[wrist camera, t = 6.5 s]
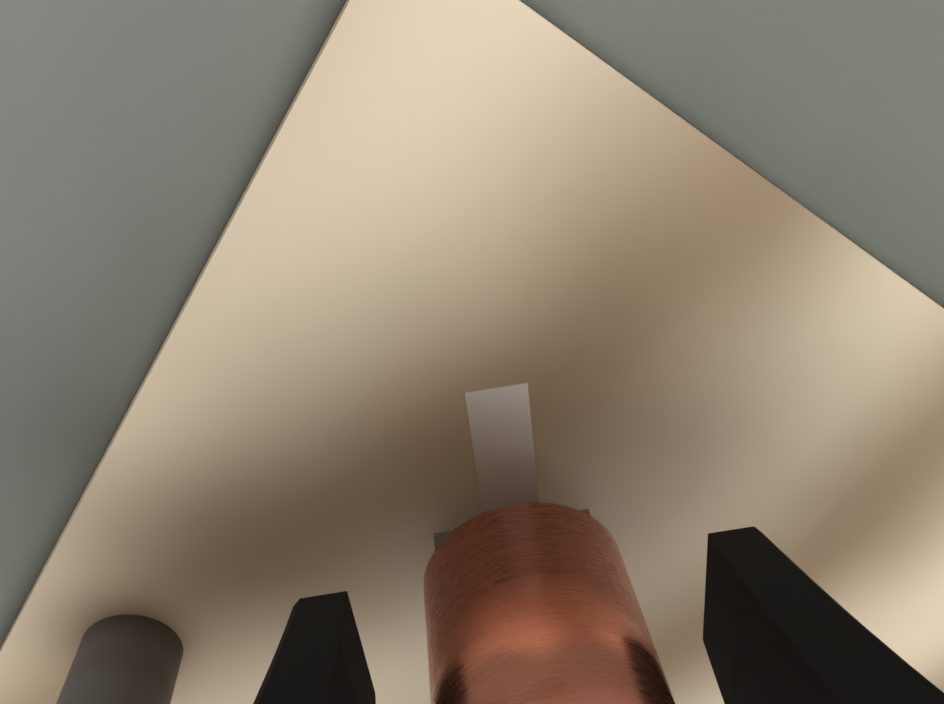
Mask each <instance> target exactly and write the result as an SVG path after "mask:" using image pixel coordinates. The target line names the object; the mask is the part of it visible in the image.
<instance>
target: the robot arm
mask: <svg viewBox="0 0 944 704" xmlns="http://www.w3.org/2000/svg"><path fill="white" fill-rule="evenodd" d="M703 642H704V645H705V648H706V651H707V654H708V657H709V660H710V663H711V666H712V669H713V672H714V675H715V678H716V681H717V684H718V687H719V689H720V692H721V695H722V698H723V701H724V704H944V692H943V691H941V690H940V689H939V688H937V687H936V686H935V685H934V684H933V683H931V682H930V681H929V680H928V679H926V678H925V677H924V676H923V675H921V674H920V673H919V672H918V671H917V670H915V669H914V668H913V667H912V666H910V665H909V664H908V663H907V662H906V661H905V660H903V659H902V658H901V657H900V656H899V655H897V654H896V653H895V652H894V651H893V650H892V649H890V648H889V647H888V646H887V645H886V644H885V643H883V642H882V641H881V640H880V639H879V638H878V637H876V636H875V635H874V634H873V633H872V632H870V631H869V630H868V629H867V628H866V627H865V626H863V625H862V624H861V623H860V622H859V621H858V620H857V619H855V618H854V617H853V616H852V615H851V614H850V613H849V612H848V611H846V610H845V609H844V608H843V607H842V606H841V605H840V604H839V603H837V602H836V601H835V600H834V599H833V598H832V597H831V596H830V595H829V594H828V593H826V592H825V591H824V590H823V589H822V588H821V587H820V586H819V585H818V584H817V583H815V582H814V581H813V580H812V579H811V578H810V577H809V576H808V575H807V574H806V573H805V572H804V571H803V570H801V569H800V568H799V567H798V566H797V565H796V564H795V563H794V562H793V561H792V560H791V559H790V558H789V557H788V556H787V555H785V554H784V553H783V552H782V551H781V550H780V549H779V548H778V547H777V546H776V545H775V544H774V543H773V542H772V541H771V540H770V539H769V538H767V537H766V536H765V535H764V534H763V533H762V532H761V531H760V530H758V529H757V528H756V527H754V526H752V527H746V528H740V529H733V530H727V531H721V532H715V533H708V543H707V563H706V583H705V603H704V623H703ZM253 704H376V699H375V690H374V687H373V683H372V679H371V676H370V672H369V669H368V665H367V661H366V658H365V654H364V651H363V647H362V643H361V640H360V636H359V632H358V629H357V625H356V622H355V618H354V614H353V611H352V607H351V603H350V600H349V596H348V593H347V591H343V592H337V593H331V594H325V595H318V596H312V597H306V598H300V599H299V600H298V601H297V602H296V604H295V605H294V606H293V608H292V611H291V614H290V616H289V619H288V622H287V624H286V627H285V630H284V632H283V635H282V637H281V640H280V642H279V645H278V647H277V650H276V652H275V655H274V657H273V659H272V662H271V664H270V666H269V669H268V671H267V673H266V676H265V678H264V680H263V683H262V685H261V687H260V689H259V692H258V694H257V696H256V698H255V701H254V703H253Z"/></svg>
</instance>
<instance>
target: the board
mask: <svg viewBox="0 0 944 704" xmlns="http://www.w3.org/2000/svg"><path fill="white" fill-rule="evenodd" d="M528 502H543V503H553V504H559V505H564V506H568V507H571V508H574V509H577V510H584V509H589V512H590V515H591V516H592V517H593V518H594V519H596V520H597V521H599V522H600V523H601V524H602V525H603V526H604V527H606V528H607V530H608V531H609V532H610V533H611V535H612V536H613V537H614V539H615V541H616V543H617V545H618V547H619V550H620V553H621V556H622V558H623V561H624V564H625V567H626V569H627V572H628V575H629V578H630V580H631V583H632V586H633V589H634V591H635V594H636V597H637V600H638V602H639V605H640V608H641V610H642V613H643V616H644V619H645V621H646V624H647V627H648V630H649V632H650V635H651V638H652V641H653V643H654V646H655V649H656V652H657V654H658V657H659V660H660V663H661V665H662V668H663V671H664V673H665V676H666V679H667V682H668V684H669V687H670V690H671V693H672V695H673V698H674V701H675V704H724V701H723V698H722V695H721V692H720V689H719V687H718V684H717V681H716V678H715V675H714V672H713V669H712V666H711V663H710V660H709V657H708V654H707V651H706V648H705V645H704V642H703V623H704V603H705V583H706V563H707V543H708V533H715V532H721V531H727V530H733V529H740V528H746V527H752V526H754V527H756V528H757V529H758V530H760V531H761V532H762V533H763V534H764V535H765V536H766V537H767V538H769V539H770V540H771V541H772V542H773V543H774V544H775V545H776V546H777V547H778V548H779V549H780V550H781V551H782V552H783V553H784V554H785V555H787V556H788V557H789V558H790V559H791V560H792V561H793V562H794V563H795V564H796V565H797V566H798V567H799V568H800V569H801V570H803V571H804V572H805V573H806V574H807V575H808V576H809V577H810V578H811V579H812V580H813V581H814V582H815V583H817V584H818V585H819V586H820V587H821V588H822V589H823V590H824V591H825V592H826V593H828V594H829V595H830V596H831V597H832V598H833V599H834V600H835V601H836V602H837V603H839V604H840V605H841V606H842V607H843V608H844V609H845V610H846V611H848V612H849V613H850V614H851V615H852V616H853V617H854V618H855V619H857V620H858V621H859V622H860V623H861V624H862V625H863V626H865V627H866V628H867V629H868V630H869V631H870V632H872V633H873V634H874V635H875V636H876V637H878V638H879V639H880V640H881V641H882V642H883V643H885V644H886V645H887V646H888V647H889V648H890V649H892V650H893V651H894V652H895V653H896V654H897V655H899V656H900V657H901V658H902V659H903V660H905V661H906V662H907V663H908V664H909V665H910V666H912V667H913V668H914V669H915V670H917V671H918V672H919V673H920V674H921V675H923V676H924V677H925V678H926V679H928V680H929V681H930V682H931V683H933V684H934V685H935V686H936V687H937V688H939V689H940V690H941V691H943V692H944V308H943V307H941V306H940V305H939V304H937V303H936V302H934V301H933V300H932V299H930V298H929V297H928V296H926V295H925V294H923V293H922V292H921V291H919V290H918V289H917V288H915V287H914V286H912V285H911V284H910V283H908V282H907V281H906V280H904V279H903V278H901V277H900V276H899V275H897V274H896V273H895V272H893V271H892V270H890V269H889V268H888V267H886V266H885V265H884V264H882V263H881V262H879V261H878V260H877V259H875V258H874V257H873V256H871V255H870V254H868V253H867V252H866V251H864V250H863V249H861V248H860V247H859V246H857V245H856V244H855V243H853V242H852V241H850V240H849V239H848V238H846V237H845V236H844V235H842V234H841V233H839V232H838V231H837V230H835V229H834V228H833V227H831V226H830V225H828V224H827V223H826V222H824V221H823V220H822V219H820V218H819V217H817V216H816V215H815V214H813V213H812V212H811V211H809V210H808V209H806V208H805V207H804V206H802V205H801V204H800V203H798V202H797V201H795V200H794V199H793V198H791V197H790V196H789V195H787V194H786V193H784V192H783V191H782V190H780V189H779V188H778V187H776V186H775V185H773V184H772V183H771V182H769V181H768V180H767V179H765V178H764V177H762V176H761V175H760V174H758V173H757V172H756V171H754V170H753V169H751V168H750V167H749V166H747V165H746V164H745V163H743V162H742V161H740V160H739V159H738V158H736V157H735V156H734V155H732V154H731V153H729V152H728V151H727V150H725V149H724V148H723V147H721V146H720V145H718V144H717V143H716V142H714V141H713V140H712V139H710V138H709V137H707V136H706V135H705V134H703V133H702V132H701V131H699V130H698V129H696V128H695V127H694V126H692V125H691V124H689V123H688V122H687V121H685V120H684V119H683V118H681V117H680V116H678V115H677V114H676V113H674V112H673V111H672V110H670V109H669V108H667V107H666V106H665V105H663V104H662V103H661V102H659V101H658V100H656V99H655V98H654V97H652V96H651V95H650V94H648V93H647V92H645V91H644V90H643V89H641V88H640V87H639V86H637V85H636V84H634V83H633V82H632V81H630V80H629V79H628V78H626V77H625V76H623V75H622V74H621V73H619V72H618V71H617V70H615V69H614V68H612V67H611V66H610V65H608V64H607V63H606V62H604V61H603V60H601V59H600V58H599V57H597V56H596V55H595V54H593V53H592V52H590V51H589V50H588V49H586V48H585V47H584V46H582V45H581V44H579V43H578V42H577V41H575V40H574V39H573V38H571V37H570V36H568V35H567V34H566V33H564V32H563V31H562V30H560V29H559V28H557V27H556V26H555V25H553V24H552V23H551V22H549V21H548V20H546V19H545V18H544V17H542V16H541V15H540V14H538V13H537V12H535V11H534V10H533V9H531V8H530V7H529V6H527V5H526V4H524V3H523V2H522V1H520V0H347V1H346V3H345V5H344V6H343V8H342V10H341V12H340V14H339V16H338V18H337V20H336V21H335V23H334V25H333V27H332V29H331V31H330V33H329V35H328V36H327V38H326V40H325V42H324V44H323V46H322V48H321V49H320V51H319V53H318V55H317V57H316V59H315V61H314V63H313V64H312V66H311V68H310V70H309V72H308V74H307V76H306V78H305V79H304V81H303V83H302V85H301V87H300V89H299V91H298V92H297V94H296V96H295V98H294V100H293V102H292V104H291V106H290V107H289V109H288V111H287V113H286V115H285V117H284V119H283V121H282V122H281V124H280V126H279V128H278V130H277V132H276V134H275V135H274V137H273V139H272V141H271V143H270V145H269V147H268V149H267V150H266V152H265V154H264V156H263V158H262V160H261V162H260V163H259V165H258V167H257V169H256V171H255V173H254V175H253V177H252V178H251V180H250V182H249V184H248V186H247V188H246V190H245V192H244V193H243V195H242V197H241V199H240V201H239V203H238V205H237V206H236V208H235V210H234V212H233V214H232V216H231V218H230V220H229V221H228V223H227V225H226V227H225V229H224V231H223V233H222V235H221V236H220V238H219V240H218V242H217V244H216V246H215V248H214V249H213V251H212V253H211V255H210V257H209V259H208V261H207V263H206V264H205V266H204V268H203V270H202V272H201V274H200V276H199V278H198V279H197V281H196V283H195V285H194V287H193V289H192V291H191V292H190V294H189V296H188V298H187V300H186V302H185V304H184V306H183V307H182V309H181V311H180V313H179V315H178V317H177V319H176V321H175V322H174V324H173V326H172V328H171V330H170V332H169V334H168V335H167V337H166V339H165V341H164V343H163V345H162V347H161V349H160V350H159V352H158V354H157V356H156V358H155V360H154V362H153V363H152V365H151V367H150V369H149V371H148V373H147V375H146V377H145V378H144V380H143V382H142V384H141V386H140V388H139V390H138V392H137V393H136V395H135V397H134V399H133V401H132V403H131V405H130V406H129V408H128V410H127V412H126V414H125V416H124V418H123V420H122V421H121V423H120V425H119V427H118V429H117V431H116V433H115V435H114V436H113V438H112V440H111V442H110V444H109V446H108V448H107V449H106V451H105V453H104V455H103V457H102V459H101V461H100V463H99V464H98V466H97V468H96V470H95V472H94V474H93V476H92V478H91V479H90V481H89V483H88V485H87V487H86V489H85V491H84V492H83V494H82V496H81V498H80V500H79V502H78V504H77V506H76V507H75V509H74V511H73V513H72V515H71V517H70V519H69V521H68V522H67V524H66V526H65V528H64V530H63V532H62V534H61V535H60V537H59V539H58V541H57V543H56V545H55V547H54V549H53V550H52V552H51V554H50V556H49V558H48V560H47V562H46V563H45V565H44V567H43V569H42V571H41V573H40V575H39V577H38V578H37V580H36V582H35V584H34V586H33V588H32V590H31V592H30V593H29V595H28V597H27V599H26V601H25V603H24V605H23V606H22V608H21V610H20V612H19V614H18V616H17V618H16V620H15V621H14V623H13V625H12V627H11V629H10V631H9V633H8V635H7V636H6V638H5V640H4V642H3V644H2V646H1V648H0V704H253V703H254V701H255V698H256V696H257V694H258V692H259V689H260V687H261V685H262V683H263V680H264V678H265V676H266V673H267V671H268V669H269V666H270V664H271V662H272V659H273V657H274V655H275V652H276V650H277V647H278V645H279V642H280V640H281V637H282V635H283V632H284V630H285V627H286V624H287V622H288V619H289V616H290V614H291V611H292V608H293V606H294V605H295V604H296V602H297V601H298V600H299V599H300V598H306V597H312V596H318V595H325V594H331V593H337V592H343V591H347V593H348V596H349V600H350V603H351V607H352V611H353V614H354V618H355V622H356V625H357V629H358V632H359V636H360V640H361V643H362V647H363V651H364V654H365V658H366V661H367V665H368V669H369V672H370V676H371V679H372V683H373V687H374V690H375V699H376V704H431V698H430V683H429V667H428V651H427V635H426V620H425V604H424V588H423V584H424V575H425V571H426V567H427V564H428V562H429V560H430V557H431V556H432V554H433V553H434V551H435V544H434V533H441V532H447V531H453V530H454V529H456V528H457V527H459V526H460V525H461V524H463V523H464V522H466V521H468V520H470V519H471V518H473V517H475V516H477V515H480V514H482V513H484V512H486V511H489V510H492V509H496V508H499V507H502V506H507V505H512V504H519V503H528Z"/></svg>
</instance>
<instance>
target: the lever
mask: <svg viewBox="0 0 944 704" xmlns="http://www.w3.org/2000/svg"><path fill="white" fill-rule="evenodd" d="M434 544H435V551H434V553H433V554H432V556H431V557H430V560H429V562H428V564H427V567H426V571H425V575H424V584H423V588H424V604H425V620H426V635H427V651H428V667H429V683H430V698H431V704H675V701H674V698H673V695H672V693H671V690H670V687H669V684H668V682H667V679H666V676H665V673H664V671H663V668H662V665H661V663H660V660H659V657H658V654H657V652H656V649H655V646H654V643H653V641H652V638H651V635H650V632H649V630H648V627H647V624H646V621H645V619H644V616H643V613H642V610H641V608H640V605H639V602H638V600H637V597H636V594H635V591H634V589H633V586H632V583H631V580H630V578H629V575H628V572H627V569H626V567H625V564H624V561H623V558H622V556H621V553H620V550H619V547H618V545H617V543H616V541H615V539H614V537H613V536H612V535H611V533H610V532H609V531H608V530H607V528H606V527H604V526H603V525H602V524H601V523H600V522H599V521H597V520H596V519H594V518H593V517H592V516H591V515H590V512H589V509H584V510H577V509H574V508H571V507H568V506H564V505H559V504H553V503H543V502H528V503H519V504H512V505H507V506H502V507H499V508H496V509H492V510H489V511H486V512H484V513H482V514H480V515H477V516H475V517H473V518H471V519H470V520H468V521H466V522H464V523H463V524H461V525H460V526H459V527H457V528H456V529H454V530H453V531H447V532H441V533H434Z"/></svg>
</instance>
